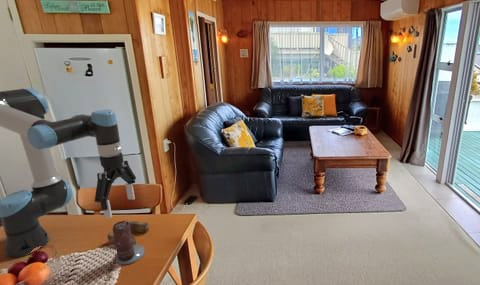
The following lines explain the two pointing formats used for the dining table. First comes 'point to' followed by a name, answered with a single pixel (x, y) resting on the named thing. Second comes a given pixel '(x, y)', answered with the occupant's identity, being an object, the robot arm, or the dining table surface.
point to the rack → (134, 227)
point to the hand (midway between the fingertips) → (120, 207)
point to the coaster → (138, 255)
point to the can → (123, 241)
